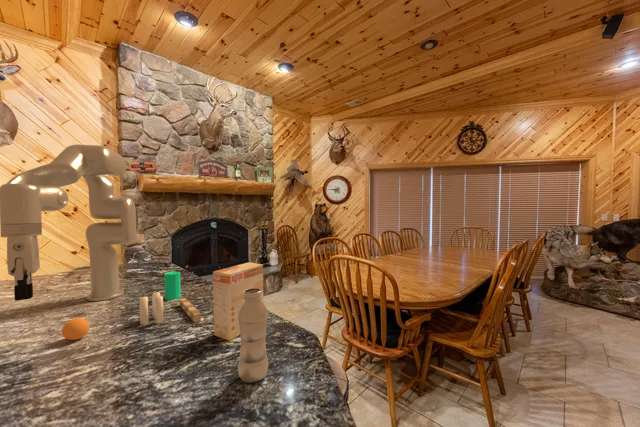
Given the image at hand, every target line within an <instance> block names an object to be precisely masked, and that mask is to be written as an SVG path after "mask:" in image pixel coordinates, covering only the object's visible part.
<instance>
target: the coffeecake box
mask: <svg viewBox="0 0 640 427" xmlns="http://www.w3.org/2000/svg"><path fill="white" fill-rule="evenodd" d="M212 288H213V289H212V290H213V294H212V296H213V329H214V332H213V333H214V336H216V337H218V338H221V339H224V340H227V341H231V340H233V339H235V338H237V337H239V336H240V327H239V320H238V314H239V310H240V309H241V307H242V305H243V304H244V303H245V300H244V291H245V290H247V289H251V288H258V289H261V296H262V298H261V299H260V300H261V301H262V303H263V304H264V298H265V296H264V264H263V263H262V264H261V263H257V262H256V263H255V262H245V263H241V264H237V265H233V266H230V267H227V268H226V267H225V268H222V269H218V270H215V271H212ZM264 305H265V304H264Z"/></svg>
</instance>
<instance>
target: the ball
mask: <svg viewBox="0 0 640 427" xmlns="http://www.w3.org/2000/svg"><path fill="white" fill-rule="evenodd" d="M89 329H90V323H89V322H88V320H87V319H86V318H82V317H75V318H71V319H69V321H67V322H66V323H65V324H64V325H63V326H62V330H61V334H62V336H63V338H64V339H66V340H69V341H77V340H80V339H81V338H84V337H85V335H87V333H88V332H89Z"/></svg>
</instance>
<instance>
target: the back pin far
mask: <svg viewBox="0 0 640 427" xmlns="http://www.w3.org/2000/svg"><path fill="white" fill-rule="evenodd" d="M157 296H161V292H159V291H158V292H153V293H151V301H152V302H151V304H152V305H151V306H152V308H151V309H152V320H155V297H157Z"/></svg>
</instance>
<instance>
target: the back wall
mask: <svg viewBox="0 0 640 427" xmlns="http://www.w3.org/2000/svg"><path fill="white" fill-rule="evenodd" d="M179 306H180V307H181V309H182V310H183V311H184V313H186V315H187V316H188V317H189V318H190V319H191V321H193V323H197V322H201V313H200V311H199V310H198V309H197V308H196V307H195V306H194V305H193V304H192V303H191V302H190V301H189V300H188V299H187V298H185V297H183V298H179Z"/></svg>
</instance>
